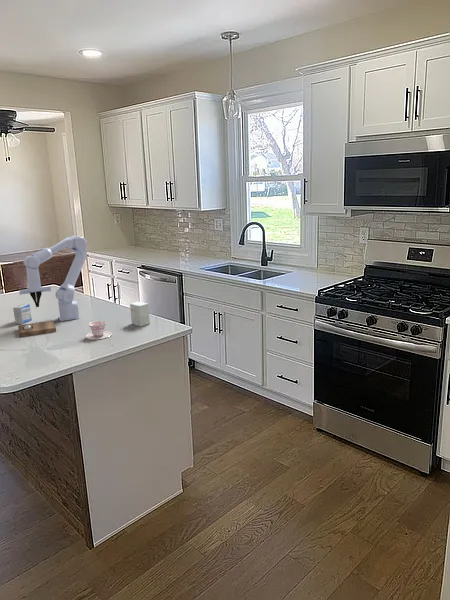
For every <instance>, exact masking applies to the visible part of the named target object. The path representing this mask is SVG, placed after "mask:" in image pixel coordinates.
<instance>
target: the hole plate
mask: <svg viewBox="0 0 450 600" xmlns="http://www.w3.org/2000/svg"><path fill="white" fill-rule="evenodd" d="M26 325H30V326H31V327H32V329H25V330H24V327H25V326H26ZM17 327H18V333H19V338H23V337H30V336H36V335H37V336H38V335H44V334H49V333H50V334H51V333H56V332H57V327H56V325H55V323H54V321H53V320H46V321H40V322H34V323H32V322H31V323H24V324H17Z"/></svg>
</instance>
